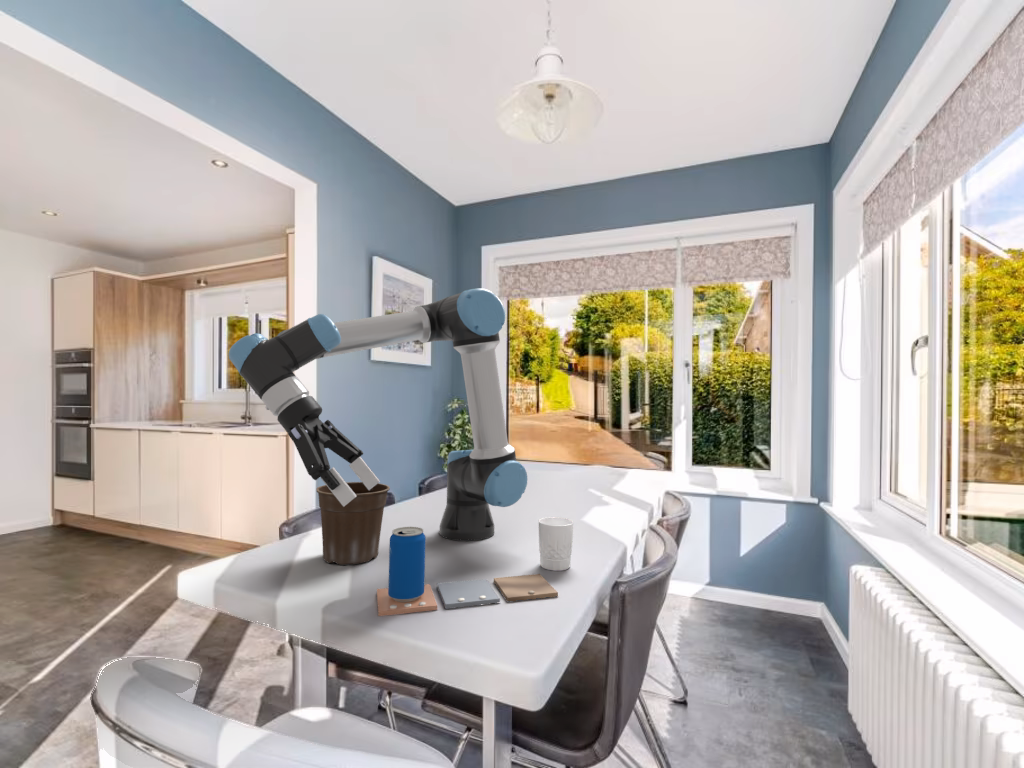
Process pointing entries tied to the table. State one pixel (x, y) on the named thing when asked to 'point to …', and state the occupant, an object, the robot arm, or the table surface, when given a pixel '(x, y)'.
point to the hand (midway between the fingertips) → (363, 493)
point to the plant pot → (352, 523)
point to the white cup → (555, 543)
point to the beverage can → (406, 564)
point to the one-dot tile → (524, 587)
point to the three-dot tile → (405, 603)
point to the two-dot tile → (467, 593)
